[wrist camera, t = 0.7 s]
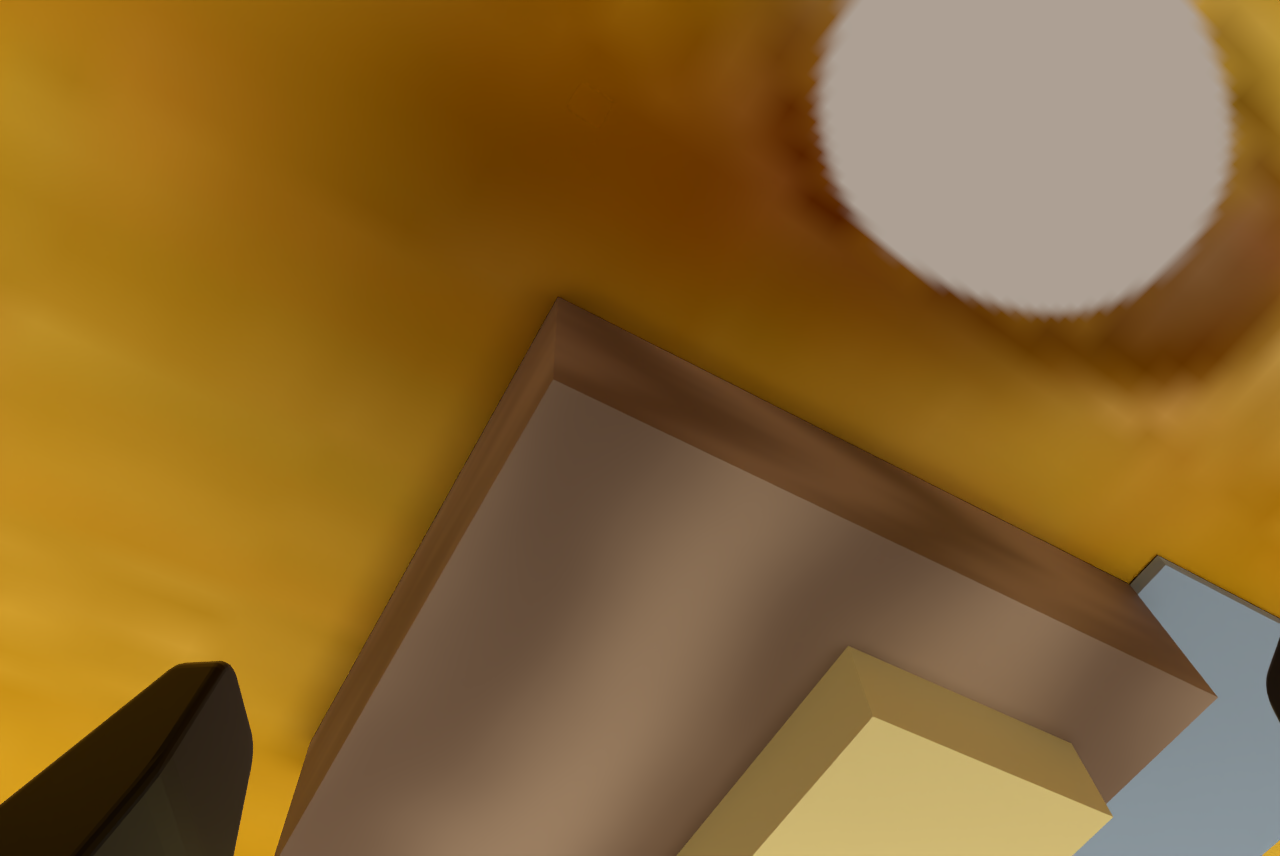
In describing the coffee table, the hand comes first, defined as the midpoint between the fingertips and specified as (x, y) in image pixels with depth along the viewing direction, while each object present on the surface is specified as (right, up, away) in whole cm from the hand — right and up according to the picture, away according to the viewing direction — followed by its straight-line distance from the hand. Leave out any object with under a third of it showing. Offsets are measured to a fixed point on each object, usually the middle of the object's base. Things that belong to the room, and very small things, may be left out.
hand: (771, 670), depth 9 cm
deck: (+1, -4, +17) cm, 18 cm away
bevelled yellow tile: (+4, -7, +15) cm, 17 cm away
